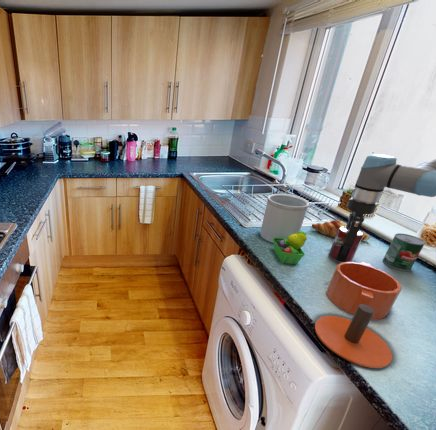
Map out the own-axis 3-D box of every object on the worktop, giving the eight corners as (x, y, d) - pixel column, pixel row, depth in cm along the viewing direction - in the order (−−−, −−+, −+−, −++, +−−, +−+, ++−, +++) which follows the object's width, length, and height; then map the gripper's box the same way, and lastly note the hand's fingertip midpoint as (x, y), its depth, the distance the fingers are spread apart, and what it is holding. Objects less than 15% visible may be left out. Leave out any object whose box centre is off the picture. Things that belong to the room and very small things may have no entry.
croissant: (363, 245, 125) (367, 227, 125) (374, 245, 115) (378, 226, 115) (307, 233, 132) (311, 216, 133) (313, 232, 123) (317, 214, 123)
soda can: (332, 262, 106) (344, 234, 101) (324, 252, 112) (335, 225, 107) (355, 265, 104) (368, 236, 99) (345, 255, 111) (357, 227, 106)
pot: (384, 294, 90) (397, 269, 86) (389, 334, 76) (405, 306, 72) (328, 276, 98) (338, 253, 94) (324, 309, 84) (335, 283, 80)
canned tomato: (389, 256, 110) (402, 231, 106) (415, 268, 104) (430, 241, 99) (377, 261, 107) (390, 235, 103) (403, 272, 101) (417, 246, 96)
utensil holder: (252, 236, 123) (261, 198, 116) (266, 226, 132) (276, 190, 125) (289, 250, 113) (302, 210, 106) (301, 238, 122) (314, 200, 115)
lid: (387, 338, 74) (407, 305, 70) (393, 383, 63) (416, 347, 58) (316, 310, 83) (329, 279, 78) (310, 346, 72) (325, 312, 67)
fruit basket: (269, 248, 114) (276, 223, 110) (293, 250, 113) (301, 225, 108) (278, 264, 104) (287, 237, 99) (305, 267, 103) (315, 240, 98)
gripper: (350, 190, 108) (330, 242, 117) (349, 206, 93) (326, 264, 103) (376, 194, 103) (353, 248, 113) (379, 212, 89) (352, 272, 98)
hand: (340, 256), depth 108 cm, fingers closed on soda can, 7 cm apart
